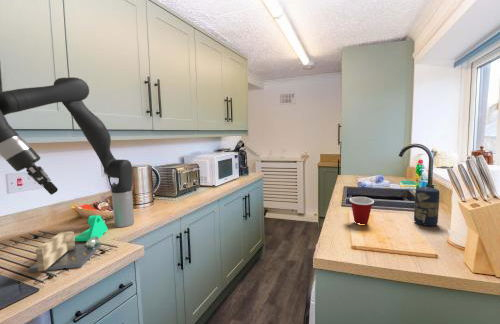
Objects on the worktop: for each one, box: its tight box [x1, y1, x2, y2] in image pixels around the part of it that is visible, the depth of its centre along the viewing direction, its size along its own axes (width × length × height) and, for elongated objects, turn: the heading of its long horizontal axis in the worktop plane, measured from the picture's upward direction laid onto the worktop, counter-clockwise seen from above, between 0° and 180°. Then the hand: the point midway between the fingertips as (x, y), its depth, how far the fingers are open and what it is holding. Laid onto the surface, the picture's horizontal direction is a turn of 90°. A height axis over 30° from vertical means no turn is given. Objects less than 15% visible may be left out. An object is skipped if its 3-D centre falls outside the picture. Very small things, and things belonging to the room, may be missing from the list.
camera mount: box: [74, 214, 109, 242], centre depth 119 cm, size 12×8×10 cm, turn 177°
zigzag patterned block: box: [35, 231, 76, 272], centre depth 96 cm, size 20×5×8 cm, turn 10°
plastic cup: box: [349, 196, 375, 225], centre depth 128 cm, size 11×11×12 cm
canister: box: [413, 186, 440, 227], centre depth 125 cm, size 10×10×18 cm
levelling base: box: [28, 236, 102, 273], centre depth 100 cm, size 18×16×4 cm
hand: (55, 192), depth 90 cm, fingers open, 8 cm apart
